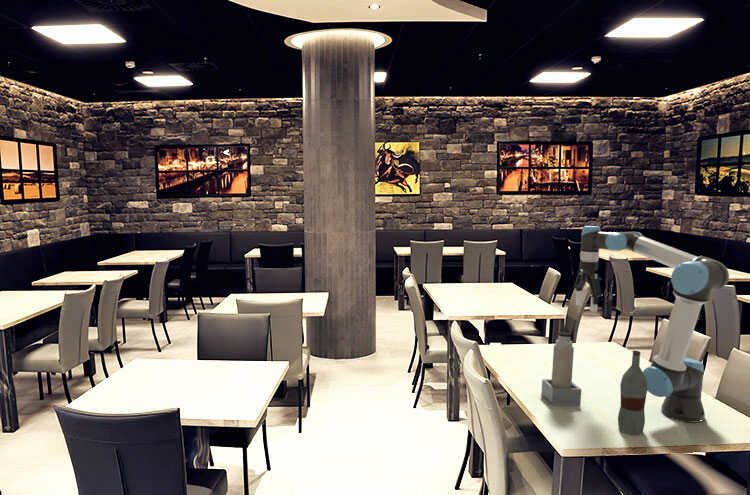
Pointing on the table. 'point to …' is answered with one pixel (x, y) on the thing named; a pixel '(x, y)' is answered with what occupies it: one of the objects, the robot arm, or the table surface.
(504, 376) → the table surface
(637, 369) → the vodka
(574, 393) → the bin
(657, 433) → the table surface
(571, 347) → the thermos bottle
